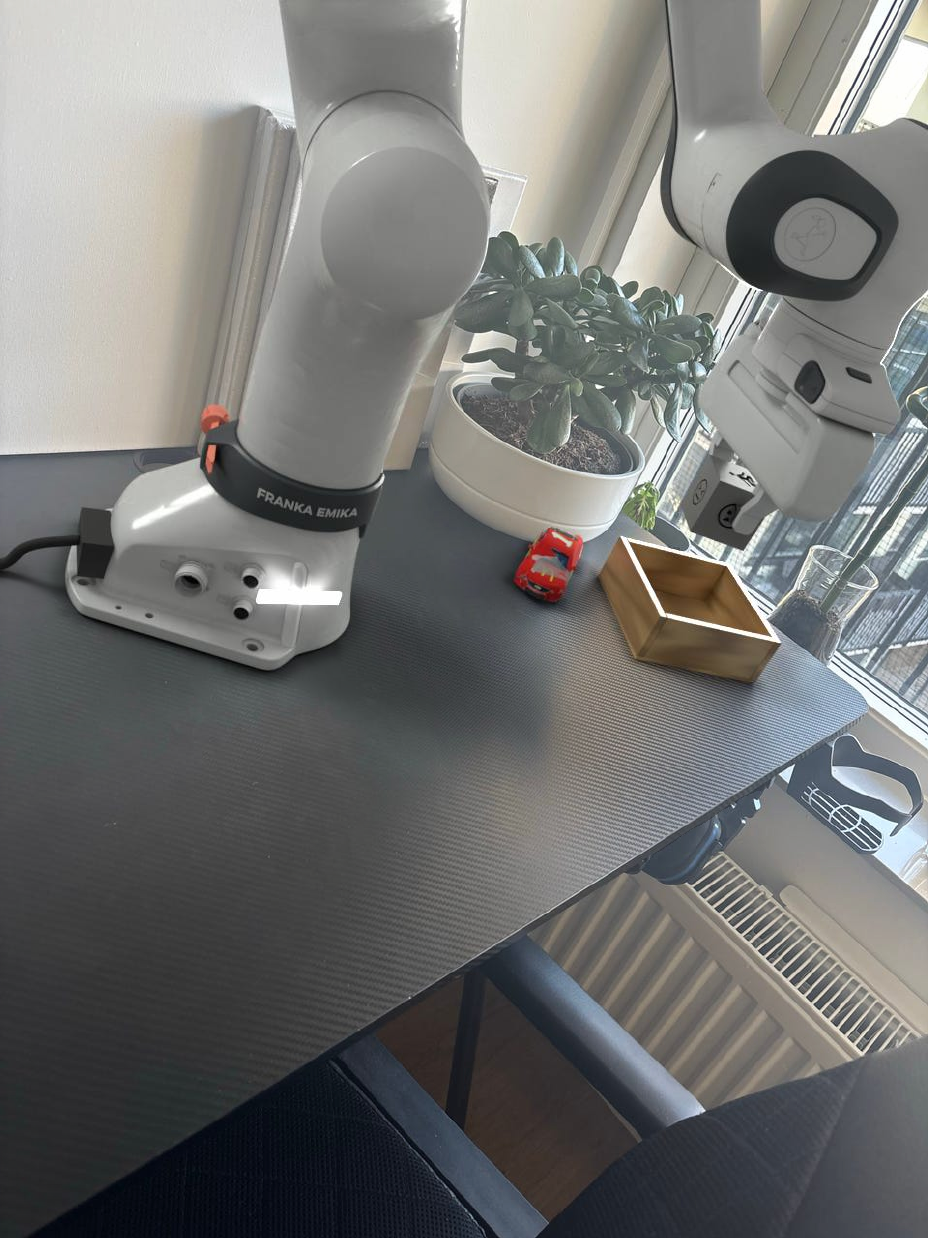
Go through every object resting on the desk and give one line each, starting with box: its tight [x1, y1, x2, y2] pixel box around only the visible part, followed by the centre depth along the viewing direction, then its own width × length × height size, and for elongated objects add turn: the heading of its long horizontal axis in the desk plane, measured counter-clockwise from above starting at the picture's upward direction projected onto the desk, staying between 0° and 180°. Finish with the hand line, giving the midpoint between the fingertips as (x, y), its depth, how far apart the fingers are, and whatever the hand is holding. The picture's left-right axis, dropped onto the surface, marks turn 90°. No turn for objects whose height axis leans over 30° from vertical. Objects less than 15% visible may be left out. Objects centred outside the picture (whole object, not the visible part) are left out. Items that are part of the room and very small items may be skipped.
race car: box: [513, 527, 584, 604], centre depth 98 cm, size 13×5×4 cm, turn 160°
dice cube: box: [680, 453, 766, 552], centre depth 79 cm, size 5×5×5 cm
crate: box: [597, 535, 783, 684], centre depth 98 cm, size 14×14×5 cm
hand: (723, 507), depth 80 cm, fingers closed on dice cube, 5 cm apart
